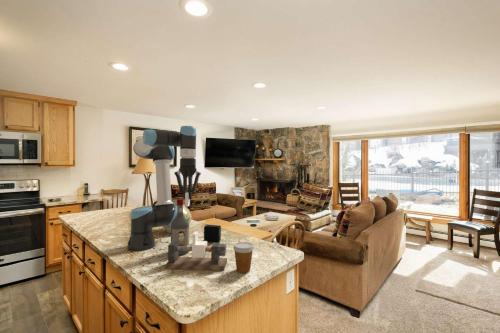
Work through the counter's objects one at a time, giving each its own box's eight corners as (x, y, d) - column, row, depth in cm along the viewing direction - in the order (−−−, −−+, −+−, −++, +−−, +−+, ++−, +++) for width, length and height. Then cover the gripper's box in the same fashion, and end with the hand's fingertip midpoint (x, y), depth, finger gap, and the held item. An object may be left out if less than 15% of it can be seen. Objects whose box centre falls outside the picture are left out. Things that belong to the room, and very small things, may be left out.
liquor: (170, 251, 140) (170, 198, 140) (186, 248, 144) (187, 197, 143) (172, 256, 132) (172, 200, 131) (189, 254, 136) (190, 199, 135)
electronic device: (218, 243, 155) (218, 227, 155) (203, 241, 157) (203, 226, 157) (220, 240, 159) (220, 225, 159) (206, 239, 161) (206, 224, 161)
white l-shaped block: (192, 257, 118) (192, 234, 118) (195, 252, 124) (195, 231, 124) (204, 257, 118) (204, 234, 118) (207, 253, 124) (207, 231, 124)
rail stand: (165, 268, 117) (165, 246, 117) (172, 260, 127) (173, 240, 127) (224, 270, 115) (224, 248, 115) (227, 262, 125) (227, 241, 125)
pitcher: (186, 235, 169) (186, 199, 169) (152, 235, 169) (152, 199, 169) (194, 227, 191) (194, 195, 191) (164, 227, 192) (164, 195, 192)
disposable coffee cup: (233, 266, 120) (233, 241, 120) (252, 265, 121) (252, 241, 121) (233, 275, 111) (233, 248, 111) (254, 274, 112) (254, 248, 111)
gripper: (172, 157, 117) (171, 206, 118) (199, 158, 117) (198, 207, 117) (177, 157, 125) (177, 204, 125) (202, 158, 124) (202, 204, 125)
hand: (187, 205), depth 121 cm, fingers closed
